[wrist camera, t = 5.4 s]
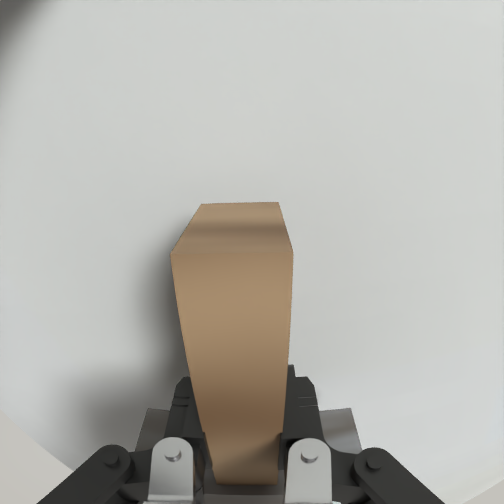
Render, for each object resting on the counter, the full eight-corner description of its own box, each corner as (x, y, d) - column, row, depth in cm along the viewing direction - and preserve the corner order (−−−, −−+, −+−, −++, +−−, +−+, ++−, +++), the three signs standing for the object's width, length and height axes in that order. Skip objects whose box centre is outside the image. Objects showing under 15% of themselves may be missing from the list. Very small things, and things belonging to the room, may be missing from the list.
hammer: (94, 209, 10) (15, 265, 6) (391, 203, 10) (467, 258, 6) (154, 425, 14) (136, 495, 10) (345, 424, 14) (361, 496, 10)
